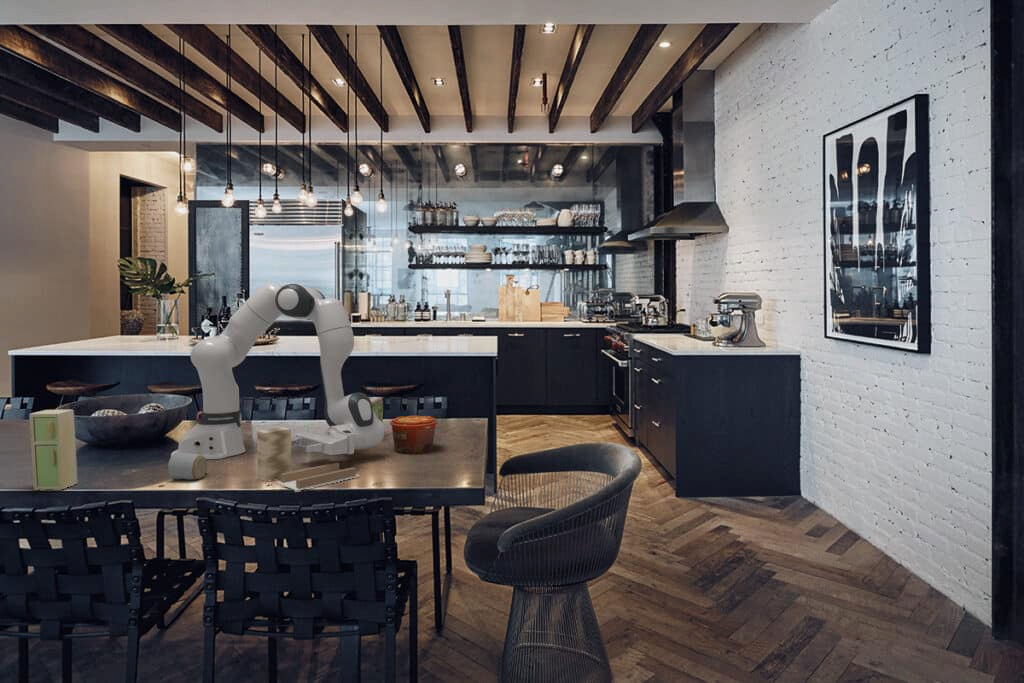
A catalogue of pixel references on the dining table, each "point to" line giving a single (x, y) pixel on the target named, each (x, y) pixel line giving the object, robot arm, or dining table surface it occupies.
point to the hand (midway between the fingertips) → (297, 446)
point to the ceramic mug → (187, 466)
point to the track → (316, 476)
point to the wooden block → (274, 453)
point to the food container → (413, 434)
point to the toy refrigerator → (53, 449)
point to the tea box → (377, 407)
